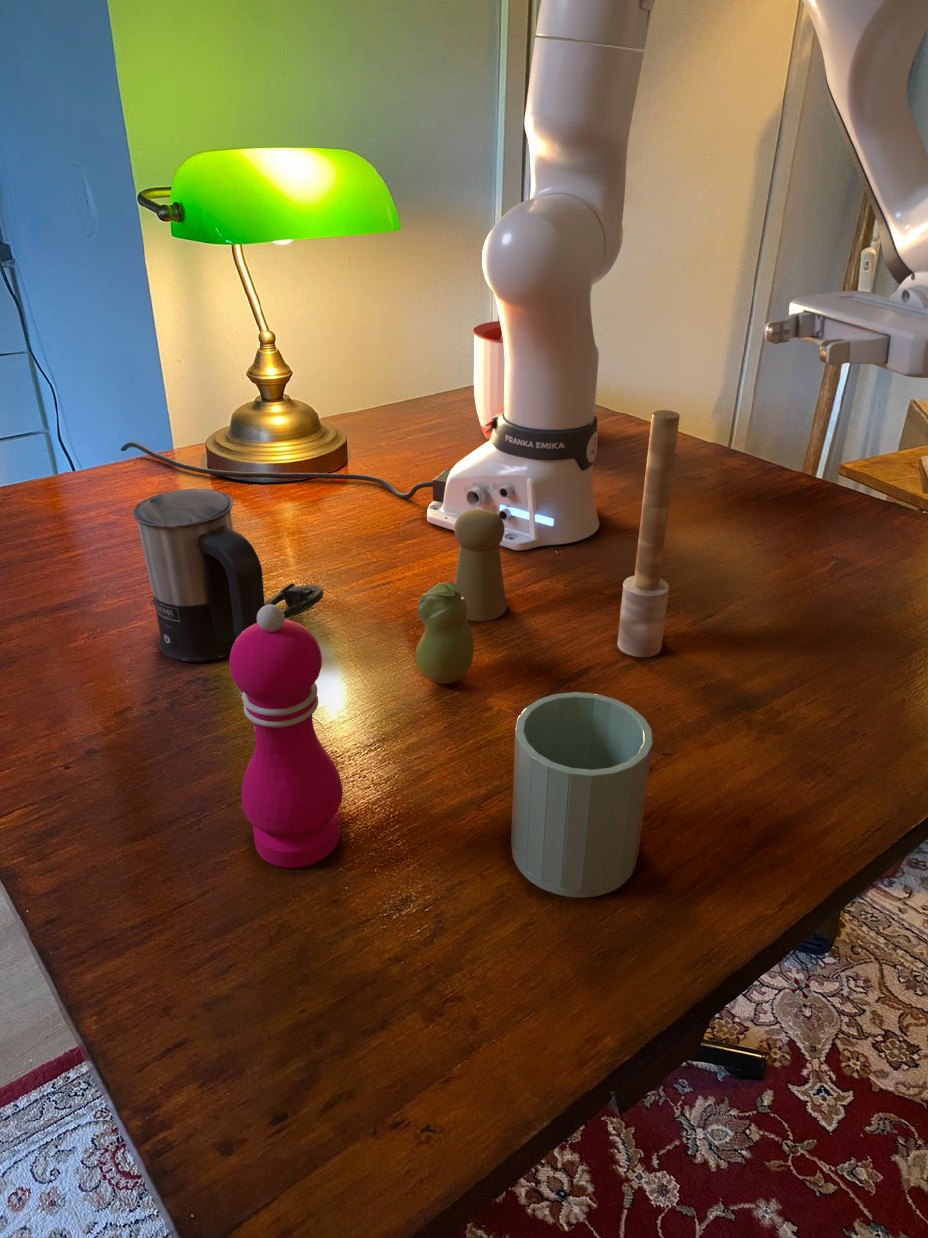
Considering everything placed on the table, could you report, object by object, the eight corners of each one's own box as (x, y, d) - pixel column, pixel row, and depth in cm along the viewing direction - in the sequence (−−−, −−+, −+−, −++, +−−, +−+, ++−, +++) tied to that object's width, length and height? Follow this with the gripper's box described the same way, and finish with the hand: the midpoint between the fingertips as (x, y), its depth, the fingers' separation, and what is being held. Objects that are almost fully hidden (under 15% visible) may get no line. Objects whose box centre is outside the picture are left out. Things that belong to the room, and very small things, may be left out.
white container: (593, 433, 149) (603, 307, 139) (525, 460, 138) (530, 325, 128) (521, 413, 158) (525, 293, 148) (452, 437, 148) (451, 309, 138)
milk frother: (138, 652, 91) (110, 516, 83) (229, 584, 103) (211, 460, 96) (261, 682, 86) (242, 540, 79) (340, 606, 99) (330, 478, 91)
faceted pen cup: (491, 871, 65) (493, 750, 60) (539, 794, 72) (545, 679, 67) (614, 915, 62) (628, 791, 56) (651, 830, 69) (668, 712, 63)
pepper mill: (254, 808, 71) (220, 582, 61) (347, 803, 71) (328, 578, 61) (243, 877, 65) (202, 638, 55) (344, 871, 65) (323, 632, 55)
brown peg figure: (513, 598, 100) (516, 506, 95) (496, 625, 95) (498, 529, 90) (461, 590, 102) (461, 499, 97) (443, 615, 97) (441, 521, 92)
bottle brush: (611, 651, 91) (634, 417, 79) (624, 631, 94) (648, 404, 82) (654, 661, 89) (684, 424, 77) (666, 640, 93) (696, 410, 81)
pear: (451, 701, 83) (451, 606, 78) (404, 684, 86) (401, 591, 81) (483, 672, 88) (484, 581, 83) (437, 657, 90) (435, 567, 85)
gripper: (870, 269, 90) (740, 289, 88) (1024, 299, 72) (866, 326, 70) (863, 334, 93) (737, 355, 91) (1010, 379, 75) (857, 406, 73)
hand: (794, 343), depth 80 cm, fingers open, 8 cm apart
